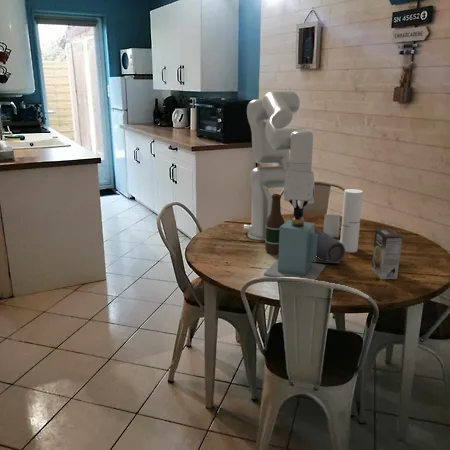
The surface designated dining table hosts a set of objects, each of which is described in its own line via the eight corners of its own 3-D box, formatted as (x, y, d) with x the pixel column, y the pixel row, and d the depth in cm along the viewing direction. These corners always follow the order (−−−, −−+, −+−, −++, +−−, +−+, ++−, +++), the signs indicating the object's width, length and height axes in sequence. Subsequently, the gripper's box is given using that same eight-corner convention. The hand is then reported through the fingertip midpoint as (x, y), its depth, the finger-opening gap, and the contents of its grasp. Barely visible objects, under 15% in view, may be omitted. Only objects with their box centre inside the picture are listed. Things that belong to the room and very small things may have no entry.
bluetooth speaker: (295, 248, 194) (296, 225, 191) (314, 245, 197) (316, 223, 194) (324, 267, 173) (326, 242, 170) (345, 264, 176) (347, 239, 173)
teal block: (263, 274, 166) (265, 228, 161) (280, 258, 182) (281, 215, 177) (312, 284, 159) (315, 235, 154) (325, 266, 174) (328, 221, 169)
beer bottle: (271, 255, 185) (273, 197, 178) (261, 249, 191) (262, 193, 184) (287, 252, 188) (290, 195, 181) (276, 247, 195) (279, 191, 188)
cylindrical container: (357, 252, 188) (363, 193, 181) (340, 251, 190) (344, 192, 182) (356, 247, 195) (362, 189, 188) (339, 245, 196) (344, 188, 189)
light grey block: (338, 237, 207) (340, 216, 205) (323, 236, 209) (324, 215, 206) (338, 234, 211) (339, 213, 208) (323, 234, 212) (324, 213, 209)
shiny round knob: (283, 261, 167) (285, 219, 163) (289, 255, 174) (291, 214, 169) (302, 265, 164) (304, 222, 160) (308, 258, 171) (310, 216, 166)
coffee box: (370, 269, 171) (374, 228, 167) (387, 269, 172) (391, 228, 167) (380, 279, 163) (385, 236, 158) (398, 279, 163) (403, 235, 158)
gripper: (276, 167, 159) (274, 218, 164) (319, 170, 153) (315, 223, 158) (283, 164, 165) (281, 213, 170) (324, 167, 159) (321, 218, 164)
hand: (298, 218), depth 164 cm, fingers closed
